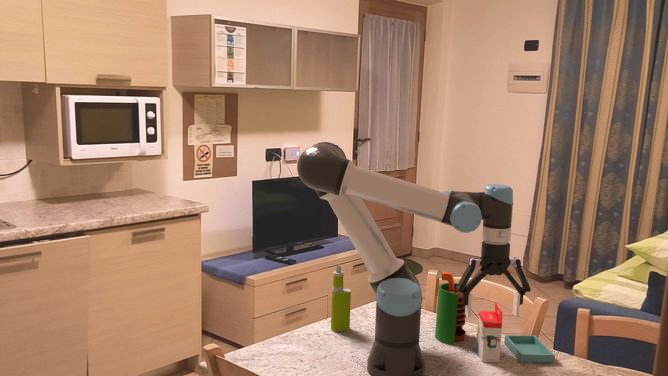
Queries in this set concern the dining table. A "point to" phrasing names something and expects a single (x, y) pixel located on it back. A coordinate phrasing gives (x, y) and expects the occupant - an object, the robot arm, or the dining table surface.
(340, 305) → the vape
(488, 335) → the ink box
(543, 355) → the tray
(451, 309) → the motor
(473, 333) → the label card
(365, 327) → the dining table surface
